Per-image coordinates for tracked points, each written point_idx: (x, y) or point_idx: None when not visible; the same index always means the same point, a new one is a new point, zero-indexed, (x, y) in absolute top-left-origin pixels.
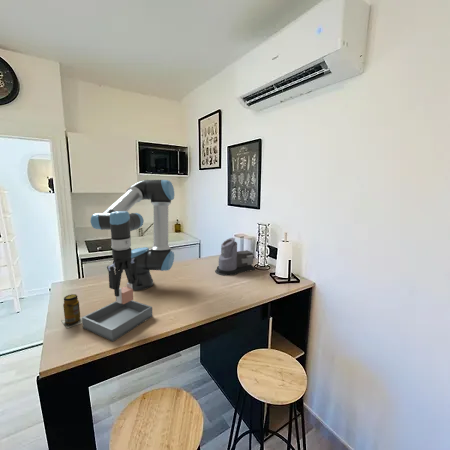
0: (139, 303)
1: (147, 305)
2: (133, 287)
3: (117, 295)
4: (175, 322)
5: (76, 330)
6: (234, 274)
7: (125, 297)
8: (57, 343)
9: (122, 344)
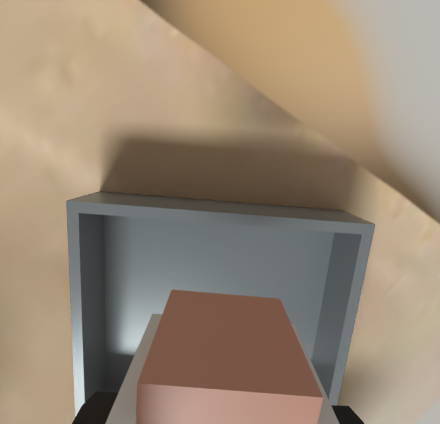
0: (79, 302)
1: (70, 239)
2: (77, 415)
3: (352, 419)
4: (78, 26)
5: None
6: None
7: (268, 334)
8: (415, 385)
9: (342, 155)
